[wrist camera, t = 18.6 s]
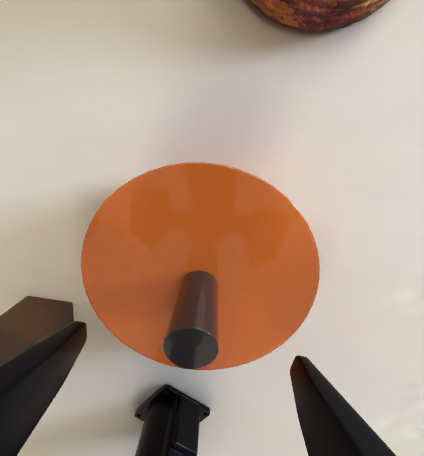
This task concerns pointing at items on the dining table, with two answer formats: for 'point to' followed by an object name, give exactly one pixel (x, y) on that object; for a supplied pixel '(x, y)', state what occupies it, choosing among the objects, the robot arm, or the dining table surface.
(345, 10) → the bell
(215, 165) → the lid
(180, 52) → the dining table surface
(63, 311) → the block
